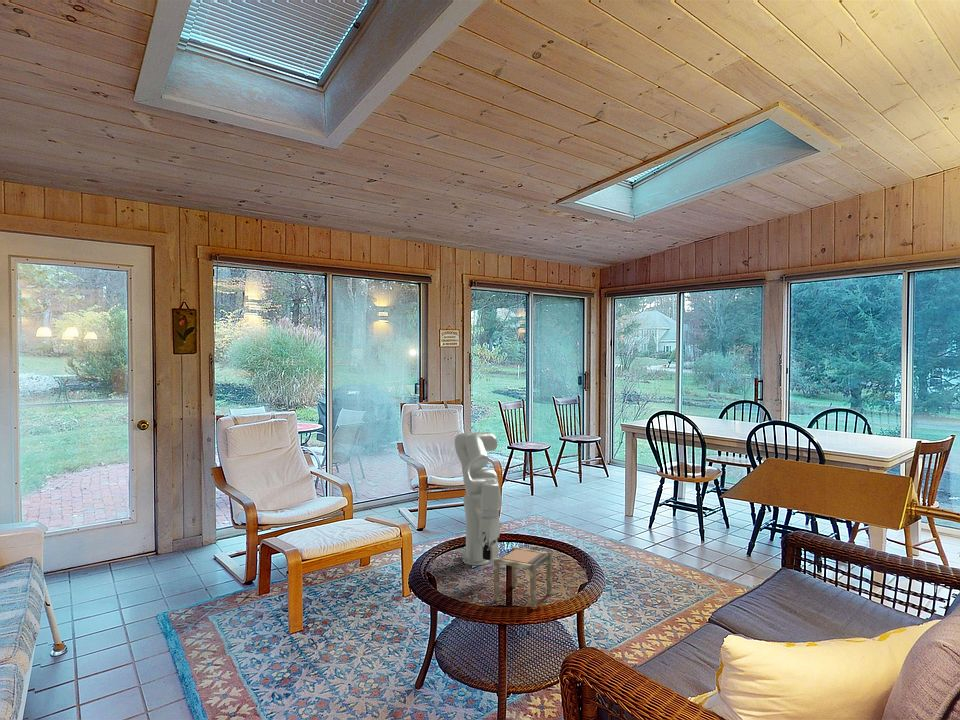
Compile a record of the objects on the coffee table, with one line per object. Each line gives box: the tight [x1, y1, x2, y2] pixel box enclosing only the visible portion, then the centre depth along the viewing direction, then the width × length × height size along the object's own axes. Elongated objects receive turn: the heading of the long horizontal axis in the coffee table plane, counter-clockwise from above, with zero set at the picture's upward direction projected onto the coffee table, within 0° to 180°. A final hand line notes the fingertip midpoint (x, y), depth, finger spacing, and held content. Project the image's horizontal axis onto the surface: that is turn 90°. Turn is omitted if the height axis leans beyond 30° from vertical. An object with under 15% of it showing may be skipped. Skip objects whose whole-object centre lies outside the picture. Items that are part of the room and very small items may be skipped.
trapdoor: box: [501, 549, 544, 565], centre depth 202 cm, size 12×12×1 cm
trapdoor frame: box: [493, 546, 553, 608], centre depth 202 cm, size 17×17×16 cm
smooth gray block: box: [482, 542, 499, 562], centre depth 218 cm, size 5×5×6 cm
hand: (490, 556), depth 218 cm, fingers closed on smooth gray block, 5 cm apart
